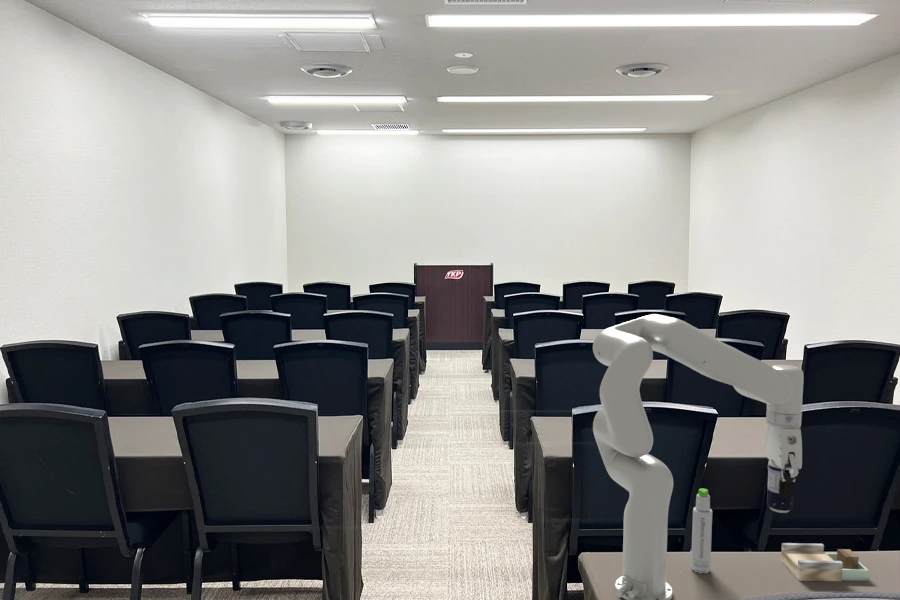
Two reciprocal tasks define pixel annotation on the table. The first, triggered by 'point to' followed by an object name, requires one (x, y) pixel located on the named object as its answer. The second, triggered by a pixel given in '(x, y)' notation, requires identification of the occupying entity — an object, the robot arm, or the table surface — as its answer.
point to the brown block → (847, 558)
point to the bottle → (701, 533)
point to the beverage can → (777, 490)
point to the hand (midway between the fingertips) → (780, 491)
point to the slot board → (810, 562)
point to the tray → (852, 571)
